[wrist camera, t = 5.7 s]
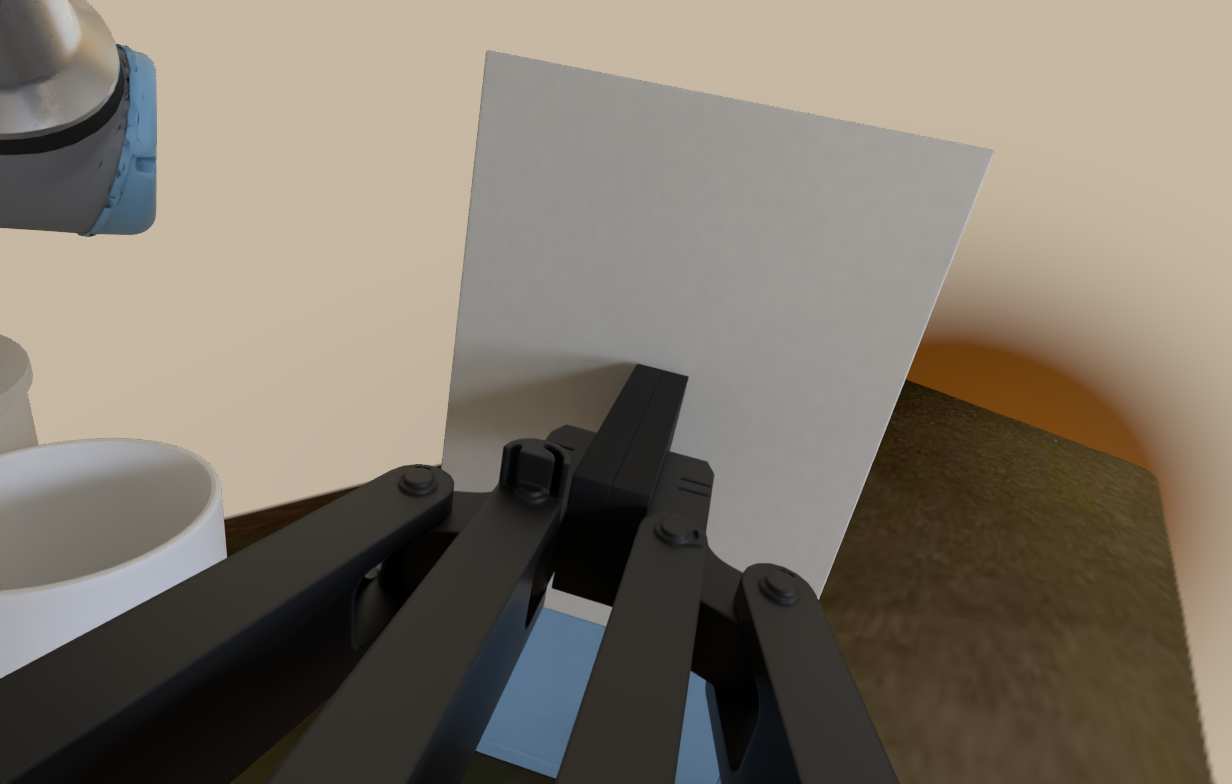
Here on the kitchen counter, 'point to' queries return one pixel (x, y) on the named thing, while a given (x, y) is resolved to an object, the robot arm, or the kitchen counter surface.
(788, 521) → the case lid
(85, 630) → the cup
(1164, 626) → the kitchen counter surface
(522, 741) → the case
